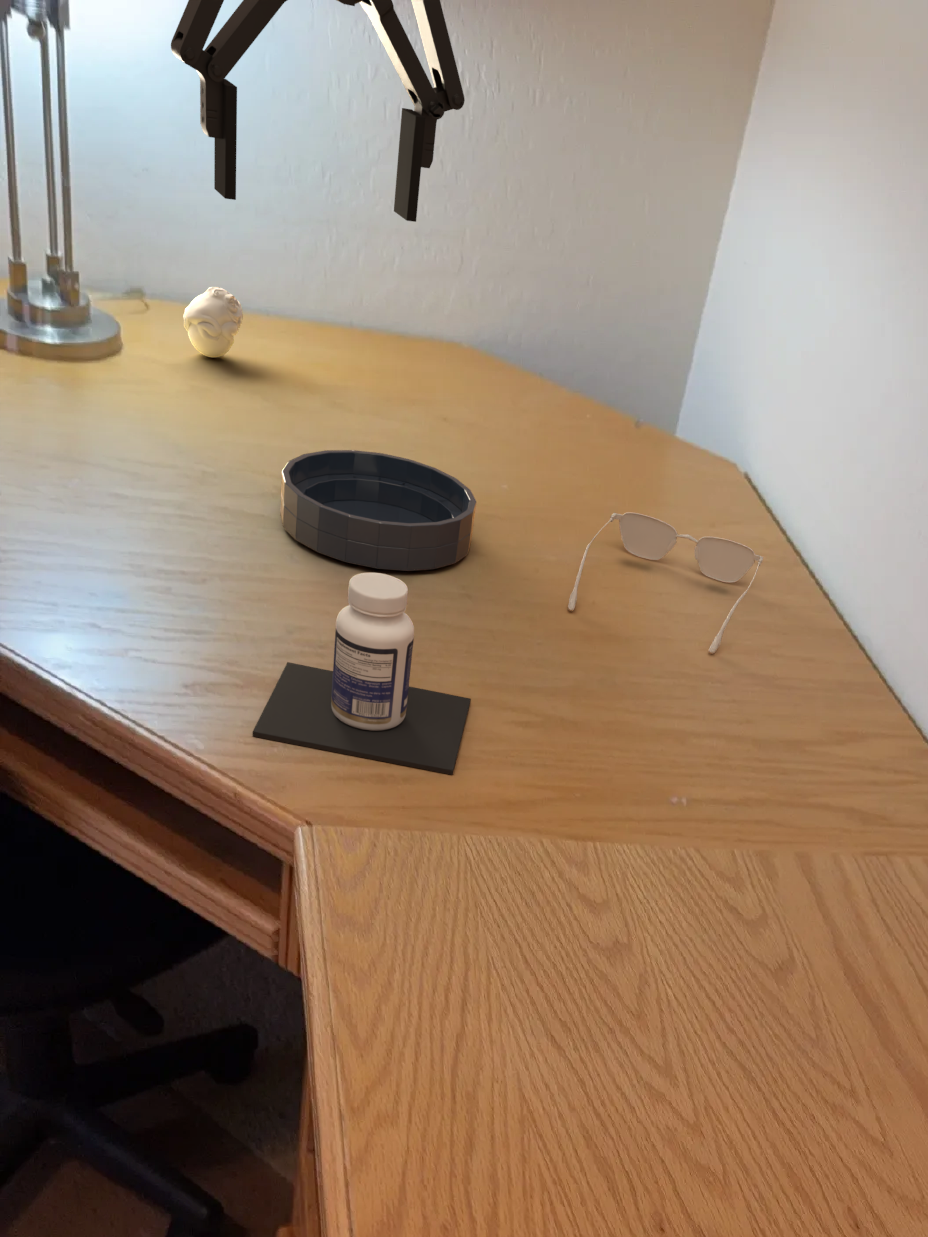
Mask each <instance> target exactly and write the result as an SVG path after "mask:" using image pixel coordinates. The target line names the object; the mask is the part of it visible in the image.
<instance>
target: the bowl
mask: <svg viewBox="0 0 928 1237" xmlns="http://www.w3.org/2000/svg"><path fill="white" fill-rule="evenodd" d="M280 482H281V483H280V484H281V485H280V490H281V491H280V512H279V513H280V515H279V516H280V519H281V523H282V528H283V529H284V530H285V531H286V532H287V533H288V534H289V535H290V536H291V537H292V538H293V539H294V540H295V541H297V542H298V543H300V544H302V545H304V546H305V547H307V548H309V549H311V550H313V551H314V552H316V553H318V554H321V555H323V556H326V557H330V558H332V559H335V560H338V561H341V562H344V563H347V564H348V563H349V564H353V565H358V566H362V567H367V568H372V569H377V570H378V569H379V570H390V571H403V572H404V571H405V572H406V571H407V572H413V571H427V570H428V571H429V570H436V569H439V568H443V567H447V566H451V565H455V564H457V563H458V562H459V561H461V560H462V559H463V558H465V557H466V556H468V554H469V552H470V548H471V545H472V540H473V530H474V523H475V515H476V508H477V500H476V498H475V495H474V494H473V492H472V490H471V489H470V488H469V487H468V486H467V485H465V483H463V482H462V481H460V480H459V479H458V478H456V477H454V476H452V475H450V474H449V473H446V472H445V471H442V470H441V469H439V468H436V467H434V466H431V465H428V464H425V463H422V462H419V461H416V460H413V459H410V458H405V457H402V456H397V455H392V454H387V453H384V452H383V453H381V452H375V451H367V450H357V449H336V450H335V449H333V450H332V449H330V450H328V449H327V450H325V449H324V450H320V451H315V452H309V453H308V452H307V453H303V454H301V455H299V456H297V457H295V458H292V459H290V460H288V461H287V462H286V464H285V466H284V467H283V469H282V470H281V481H280Z"/></svg>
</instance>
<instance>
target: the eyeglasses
mask: <svg viewBox="0 0 928 1237" xmlns="http://www.w3.org/2000/svg"><path fill="white" fill-rule="evenodd" d="M614 520H617V521H618V527H619V532H620V533H619V534H620V538H621V541H622V544H623V547H624V550H626V551H627V552H628V553H630V554H631V555H633V556H635V557H638V558H641V559H645V560H650V561H660V560H662V559H663V558H665V556H666V555H667V554H668V553H670V552H671V551H672V550H673V549H674V548H675V547H676V544H677V542H678V541H677V539H678V538H682V539H688V540H689V541H692V542H694V543H695V544H696V545H695V546H694V551H693V552H694V553H693V554H694V559H695V560H697V561H696V562H697V564H698V567H699V570H700V572H701V573H702V574H703V575H704V576H706V577H708V578H709V579H713V580H715V581H718V582H722V583H729V584H733V583H737V582H739V581H740V580H741V579H742V578H744V576H746V574H747V573H748V572H749V571H750V569H751V568H752V567H753V566H754V564H755V562H757V566H756V569H755V573H754V575H753V577H752V578H751V581H750V583H749V585H748V587H747V588H746V590H745V591H744V592H743V593H742V594H741V595H740V597H739V598H737V600H736V601H735V602H734V604H733V606H732V607H731V609H730V611H729V613H728V615H727V616H726V618H725V619H724V621H723V623H722V625H721V627H720V629H719V631H718V632H717V634H716V635H715V637H714V638H713V640H712V643H711V644H710V646H709V648H708V653H709V654H711V655H714V654H715V653H716V652H717V650H718V649H719V648H720V646H721V643H722V637H723V635H724V632H725V630H726V628H727V626H728V624H729V622H730V620H731V617H732V615H733V614H734V612H735V611H736V608H737V606H738V605H739V604H740V602H741V601H742V599H744V598H745V596H746V595H747V594H748V591H749V589H750V588H751V586H752V584H753V582H754V580H755V578H756V576H757V573H758V571H759V567H761V565H762V563H763V562H764V556H762V555H760V554H756V553H755V551H754V550H753V549H752V548H751V547H749V546H747V545H745V544H743V543H741V542H738V541H734V540H731V539H728V538H723V537H718V536H712V535H708V536H702V537H700V538H699V539H696V538H695V537H694V536H692V535H691V534H687V533H686V534H684V533H683V534H678V531H677V530H676V528H675V527H674V526H673V525H671V524H669V523H668V522H666V521H664V520H661V519H659V518H657V517H653V516H651V515H647V514H643V513H639V512H634V511H633V512H632V511H631V512H630V511H627V512H624V513H623V514H621V513H617V512H613V513H612V514H611V515H610V516H609V520H608V521H607V522H606V523H605V524H603V526H602V527H601V528H600V529H599V530H598V532H597V533H596V534H595V535H594V537H592V539H591V541H590V542H589V543H588V544H587V545H586V548H585V550H584V553H583V555H582V559H581V562H580V565H579V568H578V571H577V575H576V579H575V582H574V586H573V589H572V591H571V593H570V595H569V598H568V604H567V610H568V611H570V612H573V611H574V610H575V608H576V605H577V601H578V590H579V585H580V582H581V576H582V573H583V568H584V566H585V561H586V559H587V555H588V552H589V549H590V547H591V545H592V543H593V542H594V540H595V539H596V537H597V536H598V535H599V534H600V533H601V532H602V530H604V528H605V527H606V526H608V525H609V523H613V522H614Z"/></svg>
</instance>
